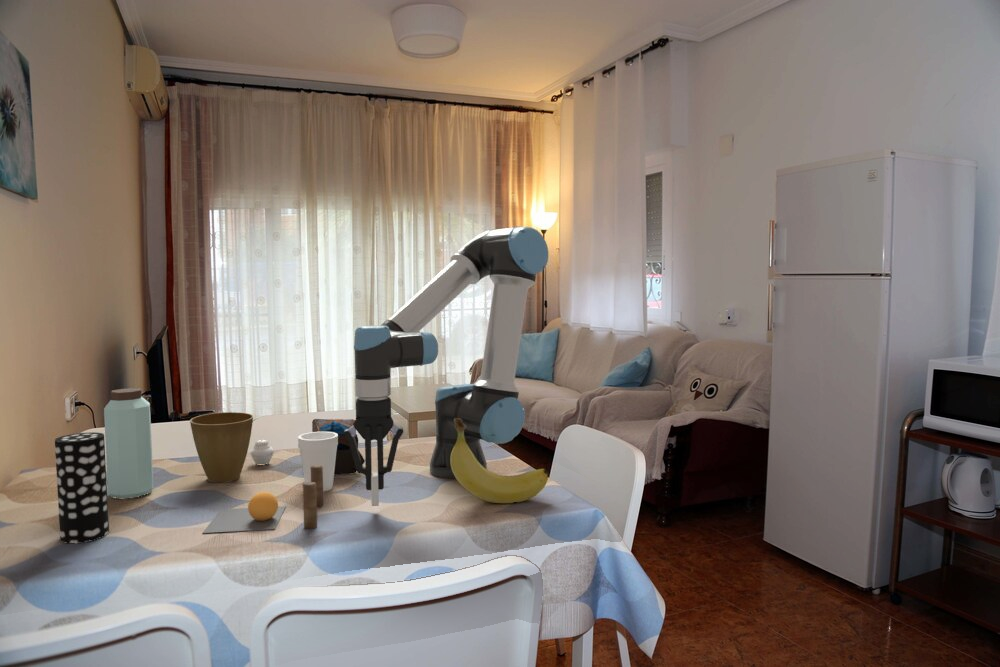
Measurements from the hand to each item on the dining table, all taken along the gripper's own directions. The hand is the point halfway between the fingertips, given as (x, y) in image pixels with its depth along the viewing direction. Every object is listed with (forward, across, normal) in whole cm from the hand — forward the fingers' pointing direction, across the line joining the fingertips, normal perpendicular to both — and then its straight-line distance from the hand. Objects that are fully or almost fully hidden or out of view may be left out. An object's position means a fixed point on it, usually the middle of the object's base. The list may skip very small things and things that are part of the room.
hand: (375, 503), depth 147 cm
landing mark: (+2, +27, 0) cm, 27 cm away
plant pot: (+2, +39, -32) cm, 50 cm away
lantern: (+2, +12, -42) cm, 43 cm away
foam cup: (+2, +14, -20) cm, 25 cm away
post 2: (+2, +13, -6) cm, 15 cm away
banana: (+2, -28, -2) cm, 28 cm away
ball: (-1, +23, +1) cm, 23 cm away
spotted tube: (+2, +57, +4) cm, 57 cm away
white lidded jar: (+2, +32, -45) cm, 55 cm away
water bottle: (+2, +58, -23) cm, 62 cm away
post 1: (+2, +13, +7) cm, 15 cm away
